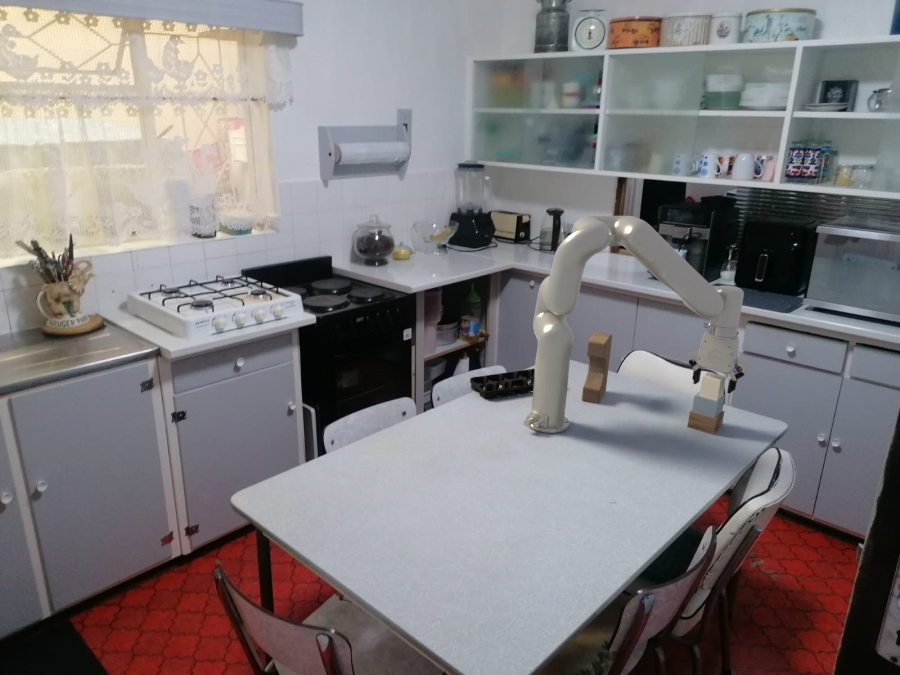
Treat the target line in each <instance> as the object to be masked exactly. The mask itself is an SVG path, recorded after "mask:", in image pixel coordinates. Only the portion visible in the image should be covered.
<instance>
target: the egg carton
mask: <svg viewBox="0 0 900 675" xmlns="http://www.w3.org/2000/svg"><path fill="white" fill-rule="evenodd" d="M534 375H535V368H530V369H529V368H528V369H522V370H516V371H515V370H514V371H508V372H502V373H501V372H500V373H493V374H487V375H480V376H473V377H470V378H469V383H470V389H471V390H472V391H473V392H475V393H479V397H481V398H483V400H488V401H489V400H496V399H497V398H498V397H500V398H509V397H508V396H510V397H513V396H514V393H515V395H516V394H523V395H525V394H524V393H527V394H529V392H530V391H533V387H534ZM528 379H530V380H531V381H530V380H528ZM529 381H530V382H529ZM500 386H501V387H500ZM529 390H530V391H529Z"/></svg>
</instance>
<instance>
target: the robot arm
mask: <svg viewBox="0 0 900 675" xmlns="http://www.w3.org/2000/svg"><path fill="white" fill-rule="evenodd" d="M618 246H620V247H621V246H622V247H624V248H625V249H626V250H627V251H628V253H630V254H631V255H632V256H633V257H634V258H635V259H636V260H637V261H638V262H640V264H641V265H642V266H643V267H644V269H646V270H648V272H650V273H651V275H652V276H654V277H655V278H656V279H657V280H658V281H659V282H661V283H662V284H663V285H665V286H666V287H667V288H669V289H670V290H672V291H673V292H674V293H676V295H678V296H679V297H680V298H681V300H682V302H683V305H684V306H686V308H687V309H690V311H692V312H694V313H696V315H698V316H699V317H701V318H703V319H709V321H708V322H704V323H703V325H702V326H703V327H702V328H705V329H707V330H706V331H705V332H704V333H703V336H702V337H701V342H700V345H699V349H697V350H692V351H689V352H687V353H686V358H687V361H688V364H689V365H690V367H691V369H692V370H693V372H692V377H691V378H692V381H693V383H692V384H693V385H697V384H699V383H700V382H701V380H700V379H701V374H702V369H701V368H703V369H707V370H710V371H715V372H718V373H723V374H728V375H729V377H730V379H729V381H728V386H727V392H726V393H727V394H729V395H730V394H731V393H733V392H734V391H735V390H736V388H737V382H738V380H740V378H743V377H744V376H746V374H747V372H748V371H750V369H751V367H750V366H749V365H748V364H747V363H745V362H744V361H742V360H741V359H740V358H739V355H740V354H739V351H740V339H739V336H738V330H739V324H740V320H741V319H740V318H741V313H742V307H743V302H744V295H745V293H744V290H743V289H742V288H740V287H737V286H734V285H733V286H732V285H712V284H711V283H709V281H707V280H706V279H705V278H704V277H703V276H702V274H700V273H699V272H698V271H697V270H696V269H694V267H693V266H692V265H690V263H689V262H688V261H687V260H686V259H685V258H684V257H683V256H682V255H681V254H680V253H679V252H678V251H676V250H675V249H674V247H672V245H671V244H670V243H668V242H667V240H665V239H664V237H663V236H662V235H660V234H659V232H657V230H655V229H654V228H653V226H651V225H650V224H649V223H648V222H647V221H645V220H644V219H641V218H639V217H636V216H634V215H585V216H582V217H581V218H578V219H577V220H576V221H575V222H574V224H573V226H572V229H571V233H570V234H568V236H567V237H565V238H564V239H563V240H562V242H561V243H560V244H559V246H558V247H557V249H556V251H555V253H554V255H553V256H554V257H553V260H552V265H551V269H550V273H549V275H548V276H547V277H544V279H543V281H541V283H540V285H539V289H538V292H537V298H536V303H535V310H534V316H533V323H532V327H533V328H532V329H533V332H534V336H536V340H537V349H536V354H535V361H534V369H535V375H534V387H533V392H532V402H531V411H530V413H529V414H527V415H526V416H525V419H524V420H523V425H524V426H525V427H529V428H530V429H532V430H534V431H537V432H541V433H547V434H549V433H550V434H557V433H561V432H564V431H566V430H568V428H569V427H570V420H569V418H568V417H566V415H565V414H566V404H567V395H568V384H569V372H570V365H571V364H570V363H571V357H572V352H573V348H574V333H573V330H572V328H571V327H570V325H569V323H568V322H567V319H568V315H569V314H572V313H573V312H574V311H575V310H576V308H577V306H578V302H579V296H580V291H581V284H582V280H583V274H584V271H585V268H586V265H587V263H588V261H589V260H590V259H591V258H592V257H594V256H595V255H597V254H599V253H601V252H603V251H604V250H607V248H608V247H618ZM694 356H695V357H696V356H697V357H696V359H694ZM737 367H740V368H741V371H740V372H738V371H737V370H736V369H737Z"/></svg>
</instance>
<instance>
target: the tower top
mask: <svg viewBox="0 0 900 675" xmlns="http://www.w3.org/2000/svg"><path fill="white" fill-rule="evenodd" d="M699 395H700V391H698V392H697V393H696V394H695V395H694V397H693V403H692V409H691V410H692V411H693V412H696V413H699V414H703V415H706V416H710V417H713V418H715V417H716V416H717V415H719V414H720V413H721V412H722V411H724V403H725V399H726V398H725V397H726V395H725V394H723V396H722V397H721V398H720V399H719V400H717V401H716V400H712V399H708V398H705V397H701V396H699Z"/></svg>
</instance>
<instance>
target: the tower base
mask: <svg viewBox="0 0 900 675" xmlns="http://www.w3.org/2000/svg"><path fill="white" fill-rule="evenodd" d="M724 417H725V411H724V410H722V412H721V413H720V414H719V415H717V416H716V417H715V418H713V417H710V416H706V415H703V414H699V413H696V412H693V411H692V409H691V410H690V411H689V414H688V418H687V419H688V421H687V426H686V427H687V428H690V429H693V430H696V431H699V432H703V433H704V434H705V433H706V434H709V435H713V436H714V435H715V434H716V433H717V432H718V431H719V430H720V429H721V428H722V427H723V421H724ZM721 426H722V427H721ZM720 427H721V428H720ZM719 428H720V429H719ZM718 429H719V430H718Z"/></svg>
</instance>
